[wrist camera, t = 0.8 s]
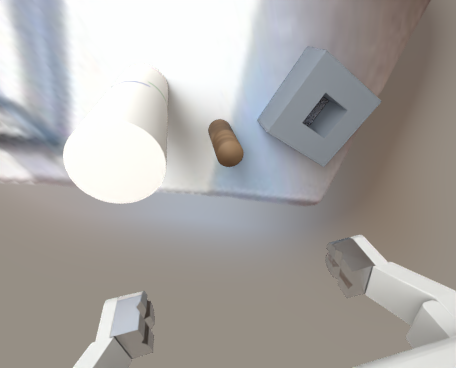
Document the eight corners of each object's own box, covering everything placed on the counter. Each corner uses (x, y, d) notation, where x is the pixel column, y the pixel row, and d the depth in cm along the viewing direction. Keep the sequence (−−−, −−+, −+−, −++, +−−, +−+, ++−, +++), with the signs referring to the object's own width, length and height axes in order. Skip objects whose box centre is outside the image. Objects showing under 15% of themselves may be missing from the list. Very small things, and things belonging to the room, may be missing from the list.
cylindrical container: (124, 55, 37) (66, 105, 16) (173, 73, 39) (176, 135, 19) (116, 103, 40) (60, 194, 19) (162, 116, 42) (155, 209, 22)
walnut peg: (215, 115, 44) (226, 137, 36) (234, 126, 46) (248, 149, 37) (204, 134, 45) (211, 160, 37) (222, 144, 47) (233, 170, 39)
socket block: (307, 46, 41) (326, 50, 36) (359, 92, 47) (381, 101, 42) (256, 120, 46) (267, 132, 41) (309, 153, 52) (323, 167, 47)
